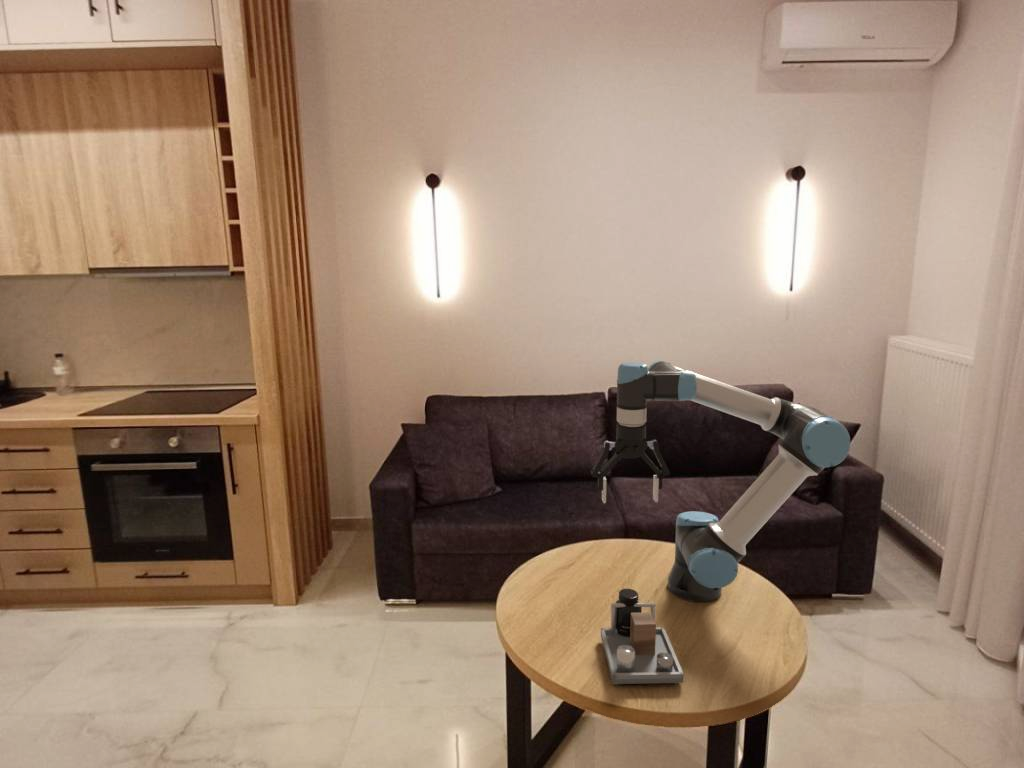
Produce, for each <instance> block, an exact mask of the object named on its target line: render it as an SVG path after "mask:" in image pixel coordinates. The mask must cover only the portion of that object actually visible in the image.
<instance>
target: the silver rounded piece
mask: <svg viewBox="0 0 1024 768" xmlns="http://www.w3.org/2000/svg"><path fill="white" fill-rule="evenodd" d="M634 665H635V650H634V648H633V647H631V646H628V645H621V646H619V647H618V648H617V671H618V672H619V673H634Z"/></svg>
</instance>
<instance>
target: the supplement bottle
mask: <svg viewBox="0 0 1024 768" xmlns="http://www.w3.org/2000/svg"><path fill="white" fill-rule="evenodd" d="M615 603H623V604H625V605H626V606H625V607H615V628H616V629H617V634H619V635H621V636H625V637H630V625H631V613H642V612H643V609H642V608H643V607H635V606H634V605H635V604H636V603H640V602H639V592H638V591H636V590H634V589H633V588H622V589H620V590H619V591H618V599H617V600H616V601H615Z"/></svg>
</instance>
